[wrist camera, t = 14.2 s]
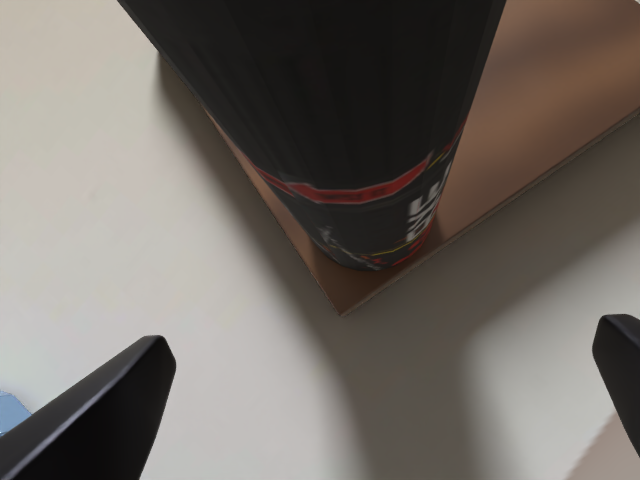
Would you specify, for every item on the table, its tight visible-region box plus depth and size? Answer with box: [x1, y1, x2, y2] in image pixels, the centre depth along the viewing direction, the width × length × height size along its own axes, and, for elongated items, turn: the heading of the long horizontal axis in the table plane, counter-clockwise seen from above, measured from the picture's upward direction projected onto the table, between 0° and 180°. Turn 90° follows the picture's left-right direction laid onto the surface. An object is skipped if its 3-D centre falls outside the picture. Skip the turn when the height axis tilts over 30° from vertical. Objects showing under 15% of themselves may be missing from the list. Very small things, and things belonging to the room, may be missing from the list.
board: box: [197, 0, 640, 317], centre depth 21 cm, size 22×20×2 cm
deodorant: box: [117, 0, 507, 271], centre depth 11 cm, size 6×6×15 cm
